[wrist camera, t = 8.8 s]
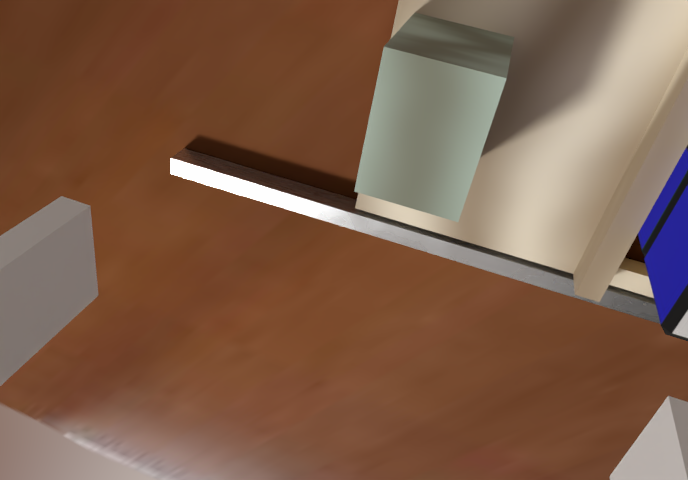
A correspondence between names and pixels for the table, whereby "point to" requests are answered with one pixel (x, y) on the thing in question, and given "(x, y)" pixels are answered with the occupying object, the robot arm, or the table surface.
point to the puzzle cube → (669, 251)
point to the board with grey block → (531, 127)
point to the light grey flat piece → (390, 228)
